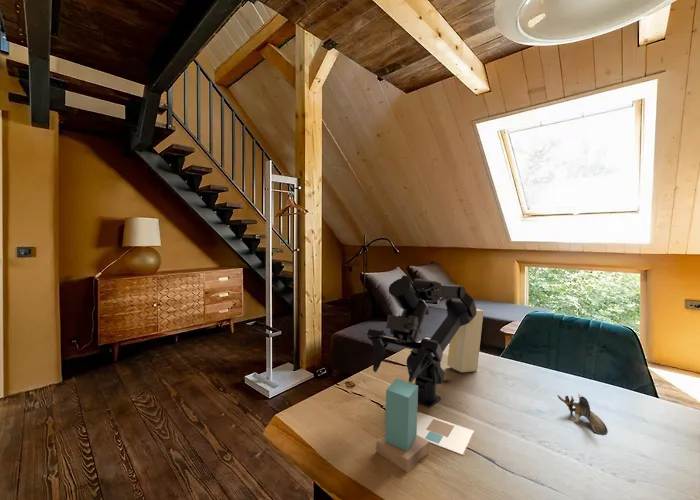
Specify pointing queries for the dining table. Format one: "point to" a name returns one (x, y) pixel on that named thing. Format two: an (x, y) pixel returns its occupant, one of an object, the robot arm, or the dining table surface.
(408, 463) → the walnut base brick
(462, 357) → the cream tall rectangular block
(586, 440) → the dining table surface
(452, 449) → the page
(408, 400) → the teal brick
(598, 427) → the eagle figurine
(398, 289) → the robot arm
